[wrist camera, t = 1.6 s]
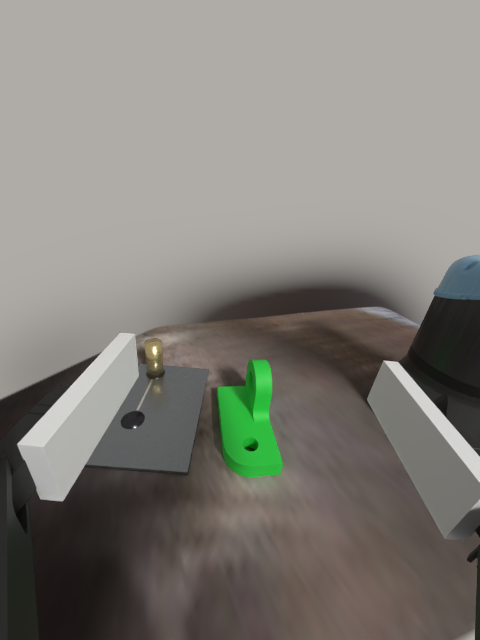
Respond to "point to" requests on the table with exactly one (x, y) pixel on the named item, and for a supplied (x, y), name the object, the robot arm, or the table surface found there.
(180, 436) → the bolt plate
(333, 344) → the table surface
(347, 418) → the table surface
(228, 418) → the mechanical part
